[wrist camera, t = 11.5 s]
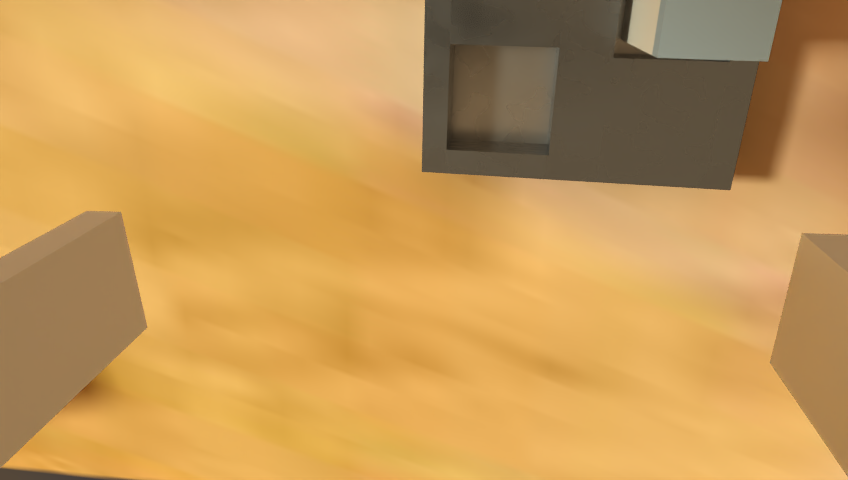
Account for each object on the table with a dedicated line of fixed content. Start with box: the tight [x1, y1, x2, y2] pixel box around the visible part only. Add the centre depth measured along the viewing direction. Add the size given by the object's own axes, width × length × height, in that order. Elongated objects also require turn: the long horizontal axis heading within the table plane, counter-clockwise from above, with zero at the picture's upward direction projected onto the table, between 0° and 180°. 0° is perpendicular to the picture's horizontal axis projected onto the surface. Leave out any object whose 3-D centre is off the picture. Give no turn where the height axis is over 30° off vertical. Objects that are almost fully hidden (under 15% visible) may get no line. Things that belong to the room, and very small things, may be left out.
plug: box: [621, 0, 782, 62], centre depth 26 cm, size 4×4×9 cm
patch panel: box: [422, 0, 759, 190], centre depth 31 cm, size 16×13×3 cm
